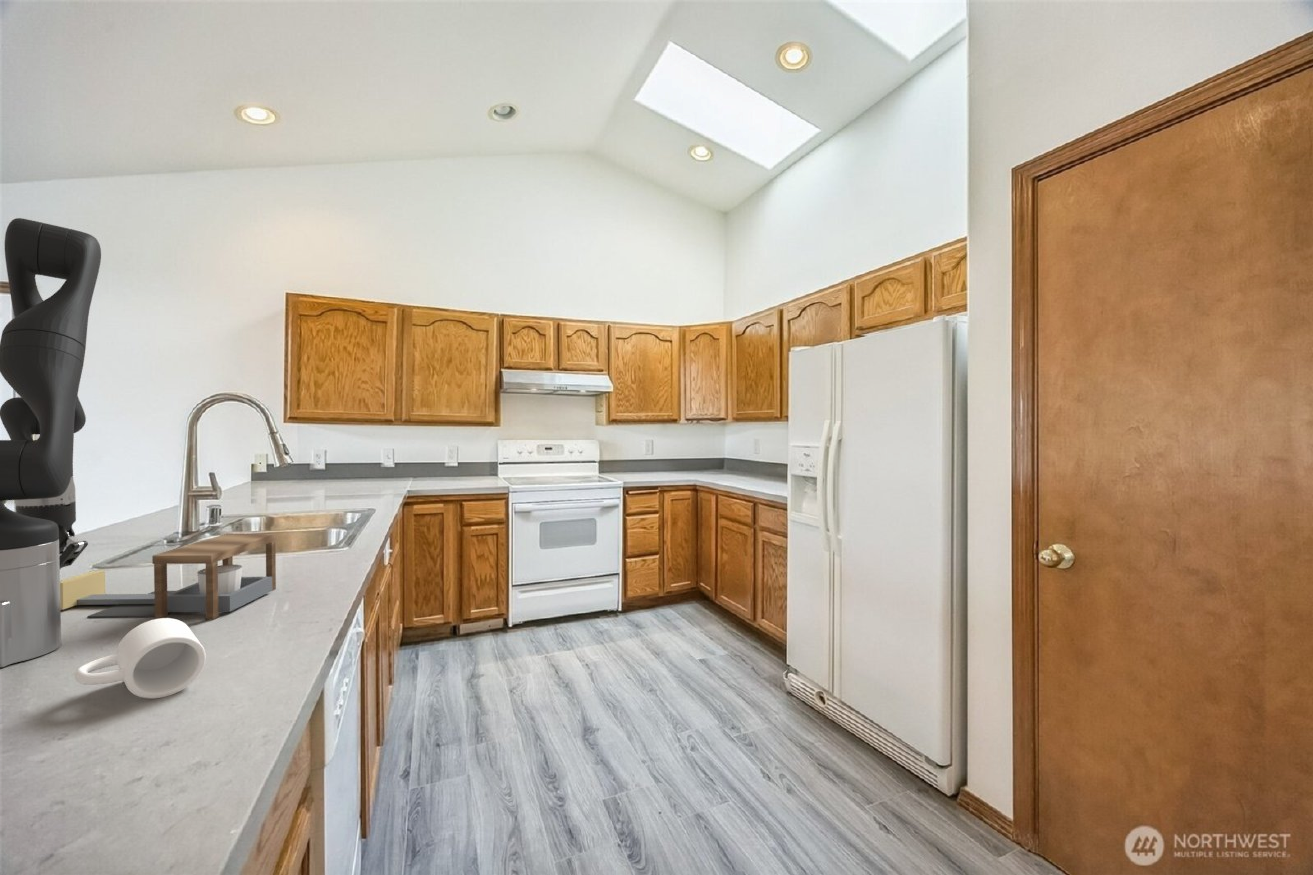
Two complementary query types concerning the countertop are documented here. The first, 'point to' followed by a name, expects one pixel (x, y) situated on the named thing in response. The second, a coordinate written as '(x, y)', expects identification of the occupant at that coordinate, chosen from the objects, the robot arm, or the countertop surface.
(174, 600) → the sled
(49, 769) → the countertop surface
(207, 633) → the countertop surface
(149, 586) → the countertop surface
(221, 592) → the white cup
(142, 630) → the mug
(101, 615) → the mat
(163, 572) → the small wooden table
